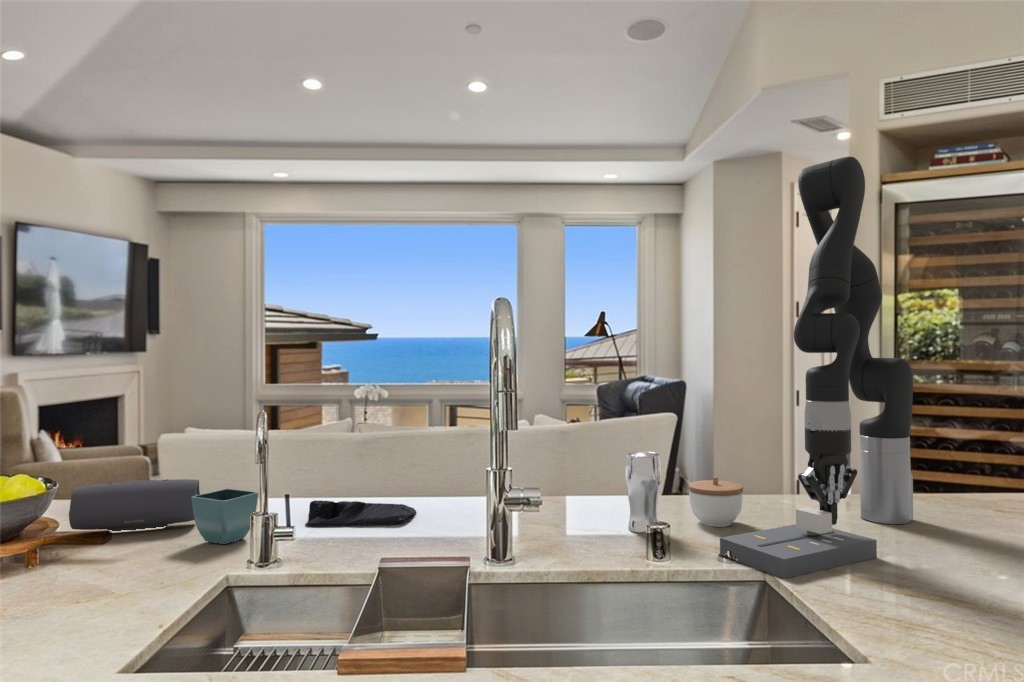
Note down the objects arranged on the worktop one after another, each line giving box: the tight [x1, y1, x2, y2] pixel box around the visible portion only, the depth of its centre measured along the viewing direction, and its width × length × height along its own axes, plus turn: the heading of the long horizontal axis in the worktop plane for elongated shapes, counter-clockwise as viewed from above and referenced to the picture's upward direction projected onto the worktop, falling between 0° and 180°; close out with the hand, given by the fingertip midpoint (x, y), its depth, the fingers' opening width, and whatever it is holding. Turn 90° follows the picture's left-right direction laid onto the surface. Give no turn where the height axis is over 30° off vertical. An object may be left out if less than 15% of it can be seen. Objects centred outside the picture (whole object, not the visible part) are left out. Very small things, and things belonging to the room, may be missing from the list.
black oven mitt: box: [305, 499, 417, 527], centre depth 153 cm, size 15×22×5 cm
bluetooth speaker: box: [68, 478, 201, 531], centre depth 146 cm, size 23×9×10 cm, turn 108°
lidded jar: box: [688, 476, 744, 528], centre depth 146 cm, size 11×11×9 cm
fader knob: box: [795, 506, 833, 536], centre depth 125 cm, size 3×5×4 cm, turn 27°
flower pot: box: [191, 488, 259, 545], centre depth 137 cm, size 9×9×9 cm
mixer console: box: [719, 523, 878, 579], centre depth 123 cm, size 22×14×3 cm, turn 117°
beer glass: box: [624, 451, 662, 535], centre depth 141 cm, size 7×7×15 cm
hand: (828, 524), depth 126 cm, fingers closed
